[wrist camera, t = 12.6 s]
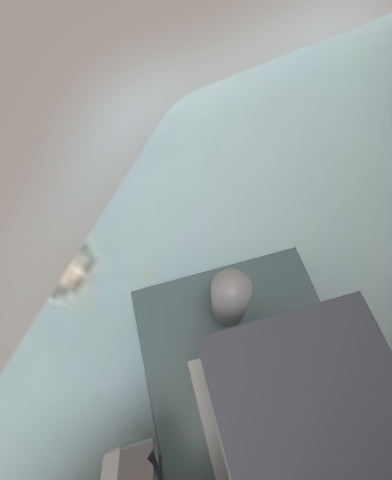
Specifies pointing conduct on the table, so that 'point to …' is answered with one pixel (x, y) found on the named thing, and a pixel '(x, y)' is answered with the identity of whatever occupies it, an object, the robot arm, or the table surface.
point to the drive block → (303, 394)
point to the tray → (186, 352)
